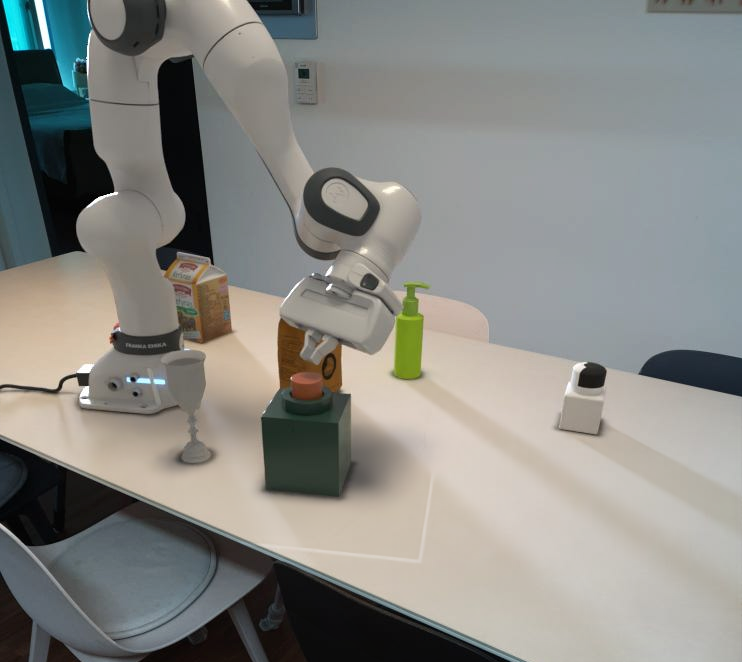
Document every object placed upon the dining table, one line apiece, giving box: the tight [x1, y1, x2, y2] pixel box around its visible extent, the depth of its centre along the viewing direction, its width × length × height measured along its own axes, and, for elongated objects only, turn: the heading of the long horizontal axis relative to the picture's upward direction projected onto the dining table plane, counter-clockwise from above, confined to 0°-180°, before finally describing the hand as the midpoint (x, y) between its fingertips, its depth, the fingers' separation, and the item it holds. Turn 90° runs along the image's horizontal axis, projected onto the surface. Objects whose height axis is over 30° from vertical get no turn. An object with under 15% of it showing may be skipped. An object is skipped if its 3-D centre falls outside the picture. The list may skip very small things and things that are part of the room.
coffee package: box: [276, 317, 343, 393], centre depth 142 cm, size 10×12×22 cm
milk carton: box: [163, 251, 233, 344], centre depth 174 cm, size 11×11×19 cm
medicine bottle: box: [558, 361, 608, 435], centre depth 136 cm, size 7×7×12 cm
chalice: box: [161, 349, 212, 464], centre depth 121 cm, size 7×7×18 cm
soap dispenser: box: [393, 281, 432, 380], centre depth 154 cm, size 6×7×20 cm
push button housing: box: [260, 386, 352, 497], centre depth 116 cm, size 12×11×15 cm
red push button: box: [291, 372, 323, 400], centre depth 112 cm, size 5×5×3 cm
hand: (308, 360), depth 110 cm, fingers closed
